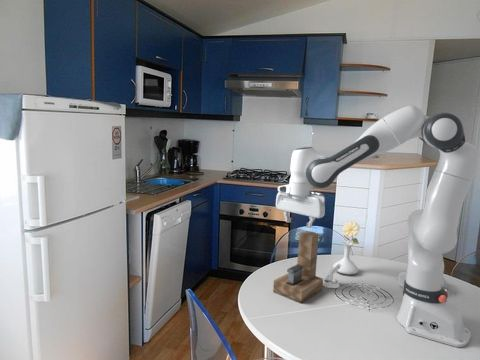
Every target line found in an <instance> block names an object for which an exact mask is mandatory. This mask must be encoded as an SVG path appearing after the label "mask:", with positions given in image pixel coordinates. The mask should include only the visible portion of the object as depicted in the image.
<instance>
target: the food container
mask: <svg viewBox="0 0 480 360" xmlns="http://www.w3.org/2000/svg"><path fill="white" fill-rule="evenodd" d="M406 274H407V270H404V271H401V272H399V273H398V278H399V279H398V278H397V279H396V283H397V285H398V286H399V287H401V288H402V289H403V285H404V281H405V280H406ZM446 285H447V281H446V278H445V277H443V281H442V288H443V289H444V290H445V289H447V290H448V287H447V286H446Z"/></svg>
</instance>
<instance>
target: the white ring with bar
mask: <svg viewBox="0 0 480 360" xmlns="http://www.w3.org/2000/svg"><path fill="white" fill-rule="evenodd" d="M340 267H341V265H340V264H337V265H336V266H335V267H334V268H333V267H332V269H331V270H329V272H328V273H327V275H326V276H325V278H322V279H323V286H322V287H325V288H329V289H338V288H339V287H340V282H339V280H338V279H336V278H334V274H335V273H337V270H338V269H339V268H340ZM329 282H334V283H329Z"/></svg>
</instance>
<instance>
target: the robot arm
mask: <svg viewBox="0 0 480 360" xmlns="http://www.w3.org/2000/svg"><path fill="white" fill-rule="evenodd" d="M464 131H465V130H464V125H463V123H462V121H461V119H460V118H459V117H458V116H457V115H455V114H453V113H450V112H439V113H436V114H434V115H432V116H427V115H425V113H424V112H423V111H422V109H420V108H419V107H418V106H416V105H412V104H411V105H406V106H403V107H401V108H399V109H396V110H394V111H392V112H390V113H388V114H387V115H385V116H383V117H382V118H380V119H378V120H377V121H376V122H374V123H373V124H372V125H370V126H369V127H368V128H367V129H366V130H365V131H364V132H363V133H362V134H361V135H360V136H359V137H358V138H357V139H356V140H355V141H354V142H352V143H351V144H350V145H348V146H347V147H345V148H343V149H341V150H340V151H338V152H337V153H334V154H333V155H331V156H327V155H324V154H322V153H321V152H319V151H317V150H316V149H315V148H314V147H312V146H304V147H298V148H296V149H294V150H293V151H292V154H291V158H290V166H289V167H290V168H289V172H290V178H289V182H288V183H286V184H284V185H279V186H278V187H277V194H276V196H275V197H276V198H275V207H276V209H277V210H280V211H283V215H284V217H285V222H286V223H289V224H290V223H292V217H290V213H294V214H298V215H301V216H307V217H308V218H309V221H308V222H306V225H305V227H306V228H309V229H310V228H313V223H314V222H315V220H316V219H322V218H323V217H324V216H325V214H326V212H325V210H326V207H325V203H326V197H325V195H323V193H321V192H316V191H313V190H314V189H313V188H317V189H325V188H328V187H329V186H331V185H332V184H333V183H334V182H335V180H336V179H337V178H338V176H339V175H340V174H342V172H344V171H345V170H348V169H349V168H351V167H352V166H354V165H356V164H358V163H360V162H361V161H363V160H365V159H368V158H370V157H374V156H378V155H380V154H384V153H386V152H389V151H392V150H394V149H396V148H397V147H399V146H401V145H403V144H405V143H406V142H408V141H410V140H412V139H417V138H418V139H419V140H420V141H422V142H423V143H424V144H425V145H428V146H429V147H431V148H433V149H438V151H439V160H438V163H437V164H436V167H435V169H434V172H433V174H432V176H431V179H430V182H429V184H428V187H427V188H426V191H425V200H424V201H425V202H424V207H423V208H422V209H421V208H420V209H417V210H414V211H412V212H411V213H410V215H408V218H407V256H408V257H407V266H406V271H407V274H406V280H405V281H404V285H403V288H402V301H401V304H400V308H399V309H398V312H397V314H396V321H397V322H398V323H399V324H400V325H401V326H402V327H403V328H404V329H405V330H406V332H407V334H408V333H409V334H411V335H414V336H417V337H421V338H424V339H428V340H431V341H435V342H439V343H441V344H445V345H449V346H452V347H455V348H462V347H465V346H467V345H468V344H469V342H470V340H471V337H472V336H471V335H472V334H471V331H470V330H469V328H468V327H466V326H464V317H463V315H462V313H461V312H459V310H457V309H456V308H455V307H454V306H453V305H452V303H450V302H449V301H448V295H449V290H448V289H447V291H445V290H444V289H443V288H442V281H443V278H444V271H445V262H444V257H443V255H444V254H447V253H449V252H451V251H452V250H453V249H454V248H455V247H456V246H457V243H458V235H457V234H458V233H457V232H458V226H459V223H460V217H461V216H460V215H461V211H462V207H463V204H464V201H465V199H466V196H467V194H468V193H469V190H470V187H471V185H472V183H473V180H474V179H475V178H474V177H475V174H476V172H477V170H478V164H479V160H480V151H479V148H477V146H475V145H474V144H472V143H470V142H467V141H466V136H465V132H464Z"/></svg>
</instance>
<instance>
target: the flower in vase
mask: <svg viewBox="0 0 480 360" xmlns="http://www.w3.org/2000/svg"><path fill="white" fill-rule="evenodd" d="M358 233H360V225H359V223H357V222H356V221H355V220H353V221H351V220H350V221H349V222H348V221H347V222H346V223H344V225H343V226H342V235H343V237H344V238H345V239H346V240H348V241H345V240H344V241H342V246H343V248H344V254H343V257H342V258H340V260H338V261H336V262H335V263H333V265H332V269H333V268H334V267H335V266H336V265H337V264H340V265H341V267H340V268H339V269H338V270H337V271H336V273H340V274H343V275H355V274H357V273H358V272H359V268H358V266H357V265H356V264H355V263H354V262H353V261H352V260H351V258H350V253H351V249H352V247H353V245H354V244H355V245H359V244H360V241H359V240H358V238H356V236H357V235H358ZM350 238H351V239H350Z"/></svg>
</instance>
